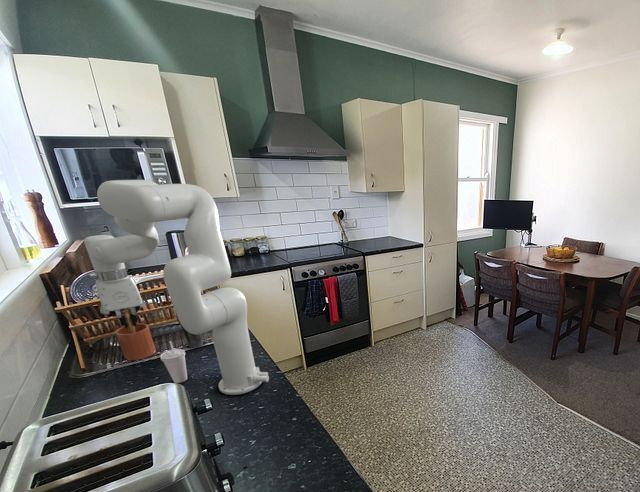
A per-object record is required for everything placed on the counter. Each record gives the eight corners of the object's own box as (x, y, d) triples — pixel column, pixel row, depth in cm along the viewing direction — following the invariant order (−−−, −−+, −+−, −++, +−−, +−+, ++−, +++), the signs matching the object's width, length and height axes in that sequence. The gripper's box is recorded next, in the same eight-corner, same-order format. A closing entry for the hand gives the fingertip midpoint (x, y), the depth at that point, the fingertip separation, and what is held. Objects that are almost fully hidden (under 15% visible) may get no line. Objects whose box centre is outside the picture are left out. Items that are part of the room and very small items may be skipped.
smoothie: (180, 386, 107) (168, 347, 101) (163, 383, 108) (150, 344, 103) (197, 375, 113) (186, 337, 107) (180, 372, 114) (168, 335, 108)
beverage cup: (211, 343, 133) (198, 294, 124) (191, 351, 127) (176, 300, 119) (201, 338, 136) (188, 290, 128) (181, 345, 130) (166, 295, 122)
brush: (151, 348, 126) (138, 308, 119) (141, 355, 122) (126, 314, 115) (138, 348, 126) (123, 307, 119) (127, 355, 122) (111, 313, 115)
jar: (162, 348, 128) (154, 323, 124) (144, 360, 120) (134, 335, 116) (137, 347, 128) (128, 323, 124) (117, 359, 120) (107, 334, 116)
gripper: (79, 282, 104) (101, 336, 112) (144, 272, 115) (160, 323, 122) (78, 276, 109) (99, 328, 117) (140, 267, 119) (156, 316, 127)
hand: (130, 325), depth 119 cm, fingers closed on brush, 2 cm apart
